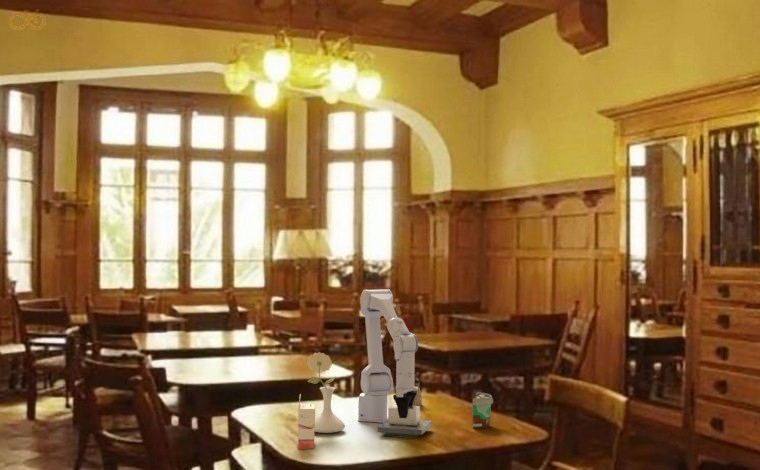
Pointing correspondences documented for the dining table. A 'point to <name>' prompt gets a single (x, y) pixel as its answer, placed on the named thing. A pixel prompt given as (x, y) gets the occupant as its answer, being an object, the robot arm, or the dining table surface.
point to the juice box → (306, 426)
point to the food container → (481, 410)
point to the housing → (411, 418)
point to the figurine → (418, 397)
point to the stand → (404, 429)
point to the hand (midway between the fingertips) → (405, 416)
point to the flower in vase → (324, 395)
